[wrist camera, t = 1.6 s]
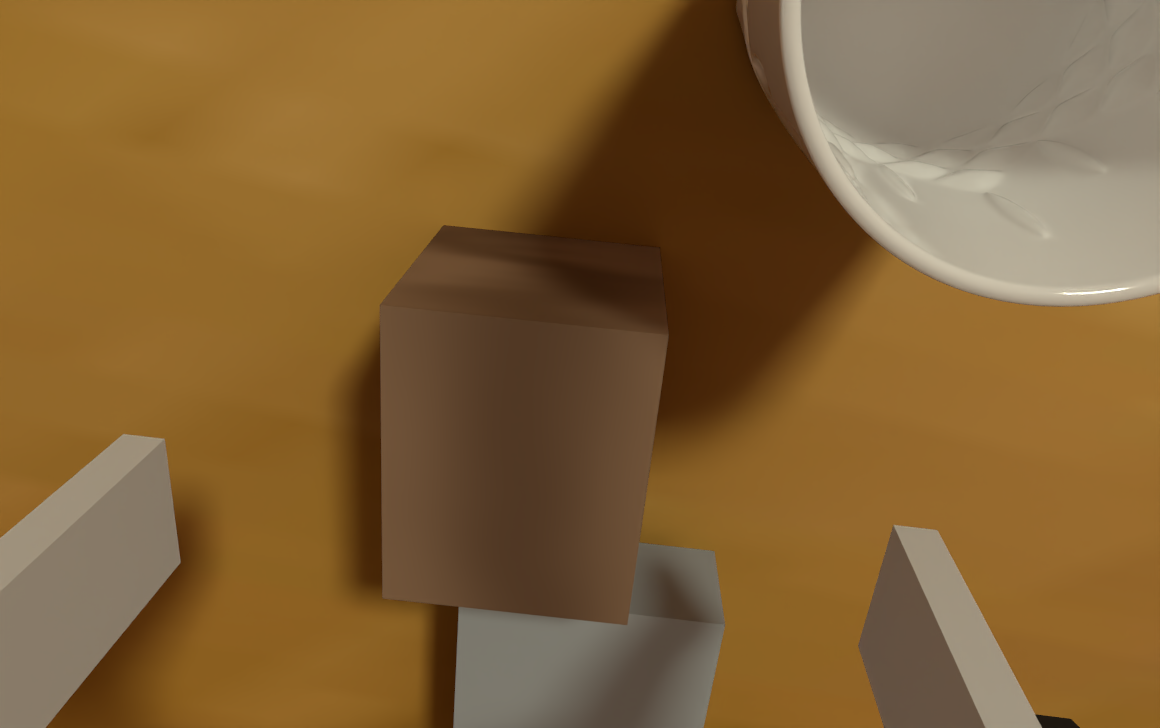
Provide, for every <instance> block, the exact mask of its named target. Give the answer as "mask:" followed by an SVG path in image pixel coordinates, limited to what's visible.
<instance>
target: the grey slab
mask: <svg viewBox="0 0 1160 728" xmlns="http://www.w3.org/2000/svg"><path fill="white" fill-rule="evenodd" d="M724 627H725V621H724V615H723V608H722V601H721V594H720V587H719V580H718V573H717V567H716V560H715V553H714V551H708V550H699V549H690V548H681V547H672V546H664V545H655V544H646V543H639V548H638V555H637V562H636V569H635V575H634V582H633V589H632V596H631V603H630V610H629V617H628V624H627V625H620V624H611V623H602V622H593V621H583V620H574V619H565V618H556V617H547V616H538V615H529V614H520V613H511V612H502V611H492V610H483V609H474V608H465V607H459V614H458V636H457V658H456V681H455V703H454V725H453V728H703V727H704V722H705V717H706V713H707V708H708V703H709V698H710V694H711V689H712V684H713V679H714V675H715V670H716V665H717V660H718V656H719V651H720V646H721V641H722V637H723V632H724Z"/></svg>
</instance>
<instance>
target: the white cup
mask: <svg viewBox="0 0 1160 728" xmlns="http://www.w3.org/2000/svg"><path fill="white" fill-rule="evenodd" d="M736 12H737V16H738V19H739V22H740V25H741V29H742V32H743V35H744V38H745V42H746V47H747V51H748V55H749V58H750V61H751V64H752V67H753V69H754V72H755V74H756V76H757V78H758V81H759V83H760V85H761V87H762V89H763V91H764V93H765V95H766V97H767V99H768V100H769V102H770V103H771V105H772V107H773V109H774V111H775V112H776V114H777V116H778V117H779V119H780V121H781V122H782V124H783V125H784V127H785V128H786V130H787V131H788V133H789V134H790V136H791V137H792V138H793V140H794V141H795V143H796V144H797V145H798V147H799V148H800V149H801V151H802V152H803V153H804V155H805V156H806V157H807V159H808V160H809V161H810V163H811V164H812V165H813V167H814V168H815V169H816V171H817V172H818V174H819V175H820V176H821V178H822V179H823V181H824V182H825V183H826V185H827V186H828V188H829V189H830V191H831V192H832V194H833V195H834V196H835V198H836V199H837V200H838V202H839V203H840V204H841V206H842V207H843V208H844V209H845V210H846V212H847V213H848V214H849V215H850V216H851V217H852V218H853V220H854V221H855V222H856V223H857V224H858V225H859V226H860V227H861V228H862V229H863V230H864V231H865V232H866V233H867V234H868V235H869V236H870V237H872V238H873V239H874V240H875V241H876V242H877V243H878V244H880V245H881V246H882V247H883V248H885V249H886V250H887V251H888V252H890V253H891V254H893V255H894V256H895V257H897V258H898V259H900V260H901V261H903V262H904V263H906V264H907V265H909V266H911V267H912V268H914V269H916V270H917V271H919V272H921V273H923V274H925V275H927V276H929V277H931V278H933V279H935V280H937V281H939V282H942V283H944V284H946V285H949V286H951V287H954V288H957V289H959V290H962V291H965V292H968V293H972V294H975V295H978V296H982V297H986V298H990V299H995V300H1000V301H1005V302H1011V303H1017V304H1025V305H1035V306H1058V307H1065V306H1089V305H1099V304H1108V303H1115V302H1122V301H1127V300H1133V299H1138V298H1142V297H1147V296H1151V295H1155V294H1159V293H1160V0H737V2H736Z"/></svg>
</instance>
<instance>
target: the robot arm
mask: <svg viewBox="0 0 1160 728" xmlns="http://www.w3.org/2000/svg"><path fill="white" fill-rule="evenodd" d="M180 563H181V561H180V553H179V545H178V538H177V530H176V522H175V515H174V507H173V499H172V492H171V484H170V476H169V469H168V461H167V453H166V446H165V439H160V438H152V437H143V436H135V435H126V434H123V435H122V436H121V437H119V438H118V439H117V440H116V441H115V442H114V443H112V444H111V445H110V446H109V447H108V448H106V449H105V450H104V451H103V452H102V453H101V454H99V455H98V456H97V457H96V458H95V459H93V460H92V461H91V462H90V463H89V464H88V465H86V466H85V467H84V468H83V469H82V470H80V471H79V472H78V473H77V474H76V475H74V476H73V477H72V478H71V479H70V480H69V481H67V482H66V483H65V484H64V485H63V486H61V487H60V488H59V489H58V490H57V491H56V492H54V493H53V494H52V495H51V496H50V497H48V498H47V499H46V500H45V501H44V502H43V503H41V504H40V505H39V506H38V507H37V508H35V509H34V510H33V511H32V512H31V513H30V514H28V515H27V516H26V517H25V518H24V519H22V520H21V521H20V522H19V523H18V524H17V525H15V526H14V527H13V528H12V529H11V530H9V531H8V532H7V533H6V534H5V535H4V536H2V537H1V538H0V728H46V726H47V725H48V724H49V723H50V722H51V720H52V719H53V718H54V717H55V715H56V714H57V713H58V712H59V711H60V709H61V708H62V707H63V706H64V704H65V703H66V702H67V701H68V700H69V698H70V697H71V696H72V695H73V693H74V692H75V691H76V690H77V689H78V687H79V686H80V685H81V684H82V682H83V681H84V680H85V679H86V678H87V676H88V675H89V674H90V673H91V671H92V670H93V669H94V668H95V667H96V665H97V664H98V663H99V662H100V660H101V659H102V658H103V657H104V656H105V654H106V653H107V652H108V651H109V649H110V648H111V647H112V646H113V645H114V643H115V642H116V641H117V640H118V639H119V637H120V636H121V635H122V634H123V632H124V631H125V630H126V629H127V628H128V626H129V625H130V624H131V623H132V621H133V620H134V619H135V618H136V617H137V615H138V614H139V613H140V612H141V610H142V609H143V608H144V607H145V606H146V604H147V603H148V602H149V601H150V599H151V598H152V597H153V596H154V595H155V593H156V592H157V591H158V590H159V588H160V587H161V586H162V585H163V584H164V582H165V581H166V580H167V579H168V577H169V576H170V575H171V574H172V573H173V571H174V570H175V569H176V568H177V566H178V565H179V564H180ZM858 646H859V649H860V653H861V656H862V659H863V662H864V665H865V668H866V672H867V675H868V678H869V681H870V684H871V687H872V691H873V694H874V697H875V700H876V703H877V706H878V710H879V713H880V716H881V719H882V722H883V725H884V728H1080V727H1079V726H1077V725H1076V724H1075V723H1074V722H1073V721H1072V720H1071V719H1067V718H1059V717H1051V716H1043V715H1035V714H1034V712H1033V710H1032V708H1031V706H1030V704H1029V702H1028V700H1027V698H1026V697H1025V695H1024V693H1023V691H1022V689H1021V687H1020V685H1019V683H1018V681H1017V680H1016V678H1015V676H1014V674H1013V672H1012V670H1011V668H1010V666H1009V664H1008V663H1007V661H1006V659H1005V657H1004V655H1003V653H1002V651H1001V649H1000V647H999V646H998V644H997V642H996V640H995V638H994V636H993V634H992V632H991V631H990V629H989V627H988V625H987V623H986V621H985V619H984V617H983V615H982V614H981V612H980V610H979V608H978V606H977V604H976V602H975V600H974V598H973V597H972V595H971V593H970V591H969V589H968V587H967V585H966V583H965V581H964V580H963V578H962V576H961V574H960V572H959V570H958V568H957V566H956V564H955V563H954V561H953V559H952V557H951V555H950V553H949V551H948V549H947V547H946V546H945V544H944V542H943V540H942V538H941V536H940V534H939V532H938V530H931V529H923V528H914V527H906V526H897V525H893V529H892V532H891V535H890V539H889V542H888V546H887V549H886V552H885V556H884V559H883V563H882V566H881V570H880V573H879V576H878V580H877V583H876V587H875V590H874V594H873V597H872V600H871V604H870V607H869V611H868V614H867V618H866V621H865V624H864V628H863V631H862V635H861V638H860V642H859V645H858Z"/></svg>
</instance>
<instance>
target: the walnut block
mask: <svg viewBox="0 0 1160 728" xmlns="http://www.w3.org/2000/svg"><path fill="white" fill-rule="evenodd" d="M668 338H669V331H668V322H667V312H666V303H665V293H664V283H663V274H662V264H661V255H660V248H659V247H650V246H640V245H630V244H620V243H611V242H601V241H591V240H582V239H572V238H562V237H552V236H543V235H533V234H523V233H514V232H504V231H494V230H484V229H475V228H465V227H455V226H446V225H444V226H443V227H442V228H441V229H440V231H439V232H438V233H437V234H436V236H435V237H434V238H433V239H432V240H431V242H430V243H429V244H428V245H427V247H426V248H425V249H424V250H423V252H422V253H421V254H420V255H419V257H418V258H417V259H416V260H415V262H414V263H413V264H412V265H411V267H410V268H409V269H408V270H407V272H406V273H405V274H404V275H403V277H402V278H401V279H400V280H399V282H398V283H397V284H396V285H395V287H394V288H393V289H392V290H391V292H390V293H389V294H388V295H387V297H386V298H385V299H384V300H383V302H382V303H381V304H380V382H381V494H382V598H383V599H392V600H401V601H411V602H420V603H429V604H438V605H447V606H456V607H465V608H474V609H483V610H492V611H502V612H511V613H520V614H529V615H538V616H547V617H556V618H565V619H574V620H583V621H593V622H602V623H611V624H620V625H627V624H628V617H629V610H630V603H631V596H632V589H633V582H634V575H635V569H636V562H637V555H638V548H639V541H640V534H641V527H642V520H643V513H644V506H645V499H646V492H647V485H648V478H649V471H650V464H651V457H652V450H653V443H654V436H655V429H656V422H657V415H658V408H659V401H660V394H661V387H662V380H663V373H664V366H665V359H666V352H667V345H668Z"/></svg>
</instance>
